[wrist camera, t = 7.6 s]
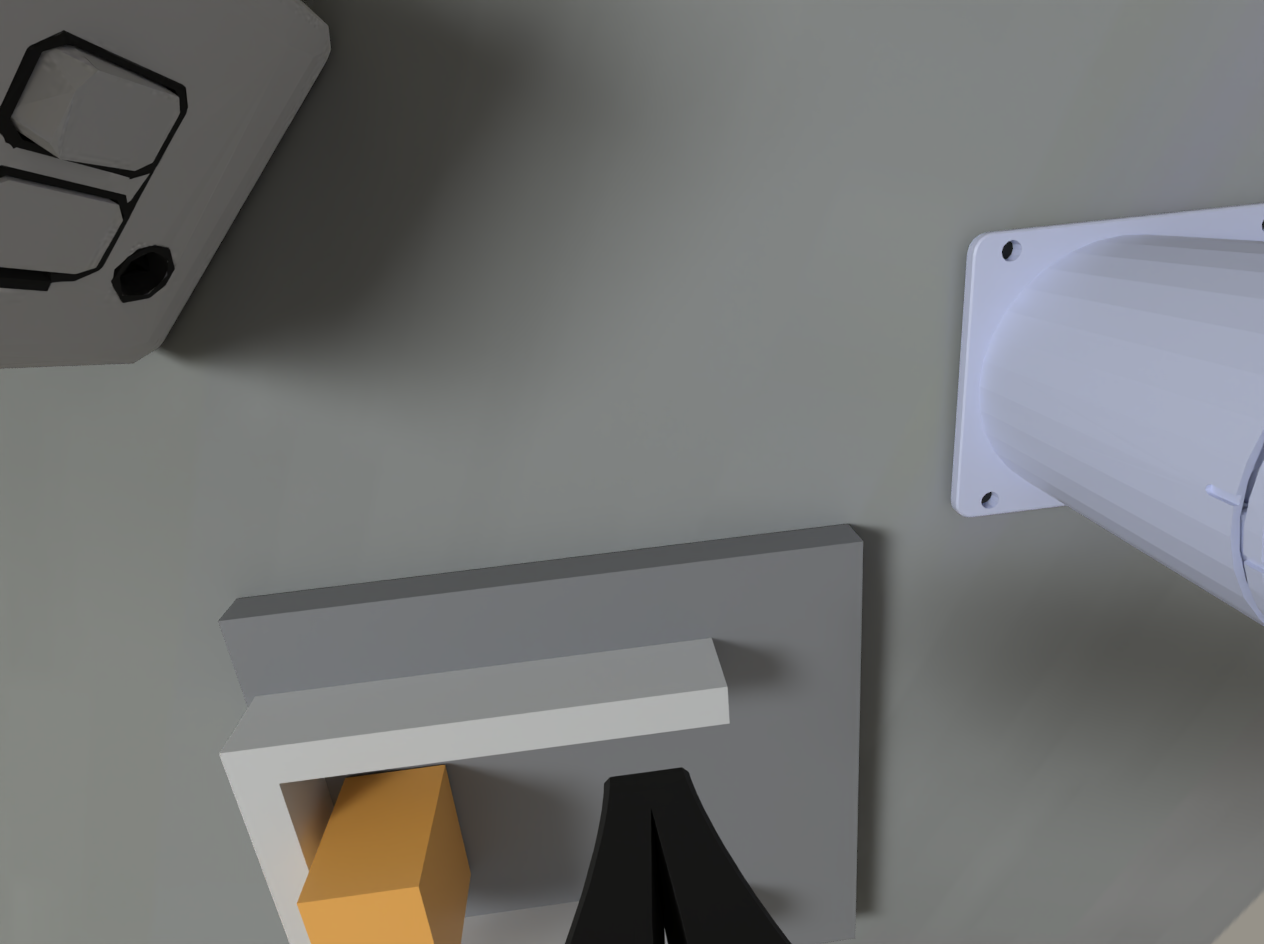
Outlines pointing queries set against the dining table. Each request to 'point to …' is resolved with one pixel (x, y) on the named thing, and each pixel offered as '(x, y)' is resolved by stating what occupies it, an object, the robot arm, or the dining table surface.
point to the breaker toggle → (389, 864)
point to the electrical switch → (132, 159)
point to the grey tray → (570, 716)
